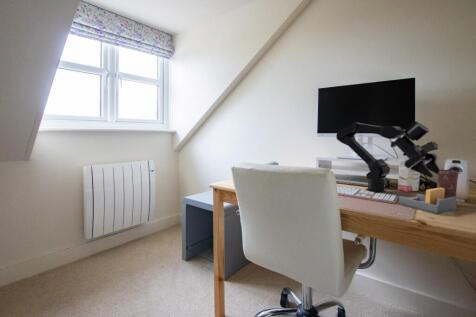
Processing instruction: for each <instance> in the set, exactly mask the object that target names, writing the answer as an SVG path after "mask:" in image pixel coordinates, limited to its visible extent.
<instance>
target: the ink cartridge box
mask: <svg viewBox="0 0 476 317" xmlns="http://www.w3.org/2000/svg"><path fill="white" fill-rule="evenodd" d="M405 161H406V160H401V161H400V164H399V170H398V172H399V173H398V184H397V185H398V187H397V190H398V191H401V190H402V191H401V192H405V193H407V192H408V193H409V192H416V191H419V187H420V176H421V173H419V172H417V171H414V170H411V169H410V168H407V167H406V166H405ZM402 164H403V167H401V165H402Z"/></svg>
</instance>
